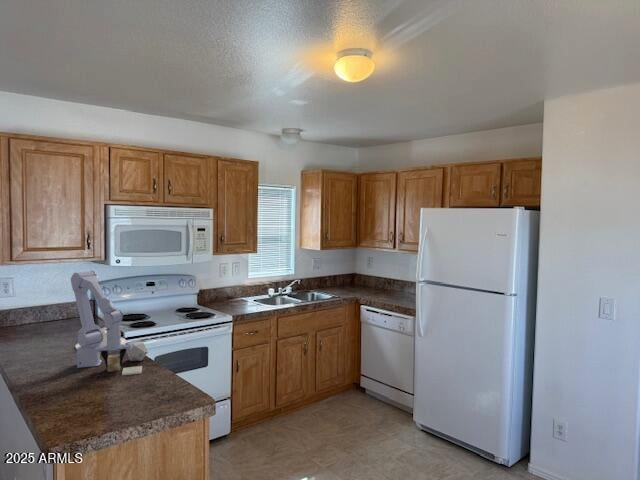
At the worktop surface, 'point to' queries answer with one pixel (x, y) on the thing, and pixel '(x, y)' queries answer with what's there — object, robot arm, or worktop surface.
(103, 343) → the dish
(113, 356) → the maple block
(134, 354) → the die
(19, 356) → the worktop surface
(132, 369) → the tray
